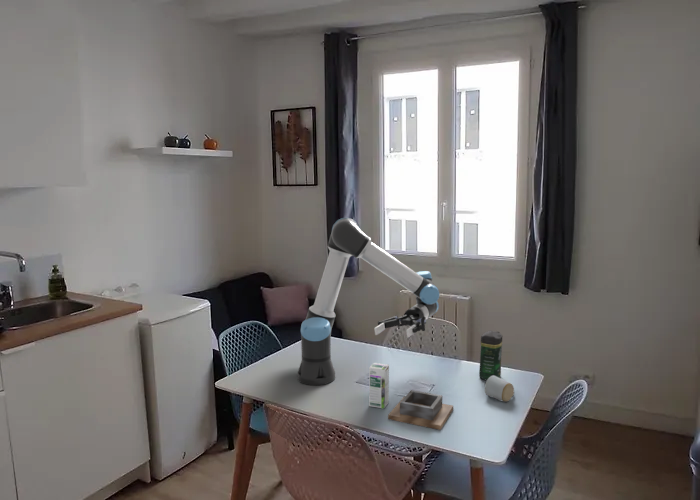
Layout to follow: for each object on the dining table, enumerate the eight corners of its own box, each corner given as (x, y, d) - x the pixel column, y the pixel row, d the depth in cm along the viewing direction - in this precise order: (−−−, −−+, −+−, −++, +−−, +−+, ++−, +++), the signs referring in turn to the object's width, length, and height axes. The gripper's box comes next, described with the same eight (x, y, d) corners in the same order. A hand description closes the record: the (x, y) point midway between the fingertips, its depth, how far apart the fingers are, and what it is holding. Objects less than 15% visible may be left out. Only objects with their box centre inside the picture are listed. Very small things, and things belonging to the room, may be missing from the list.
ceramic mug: (502, 405, 188) (504, 384, 187) (483, 397, 194) (484, 377, 193) (519, 397, 195) (521, 377, 194) (500, 390, 201) (501, 371, 200)
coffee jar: (497, 383, 207) (498, 337, 205) (477, 379, 211) (478, 334, 208) (503, 374, 216) (504, 330, 213) (483, 371, 219) (485, 327, 217)
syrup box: (368, 406, 187) (368, 367, 185) (374, 400, 193) (374, 361, 191) (383, 409, 185) (384, 369, 183) (389, 402, 191) (389, 363, 189)
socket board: (388, 419, 178) (388, 403, 177) (404, 400, 192) (404, 385, 192) (440, 429, 170) (440, 413, 170) (453, 409, 185) (453, 394, 184)
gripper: (445, 325, 209) (422, 344, 192) (390, 322, 223) (364, 340, 206) (443, 307, 208) (420, 324, 191) (388, 305, 222) (361, 321, 205)
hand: (391, 332), depth 198 cm, fingers open, 13 cm apart
